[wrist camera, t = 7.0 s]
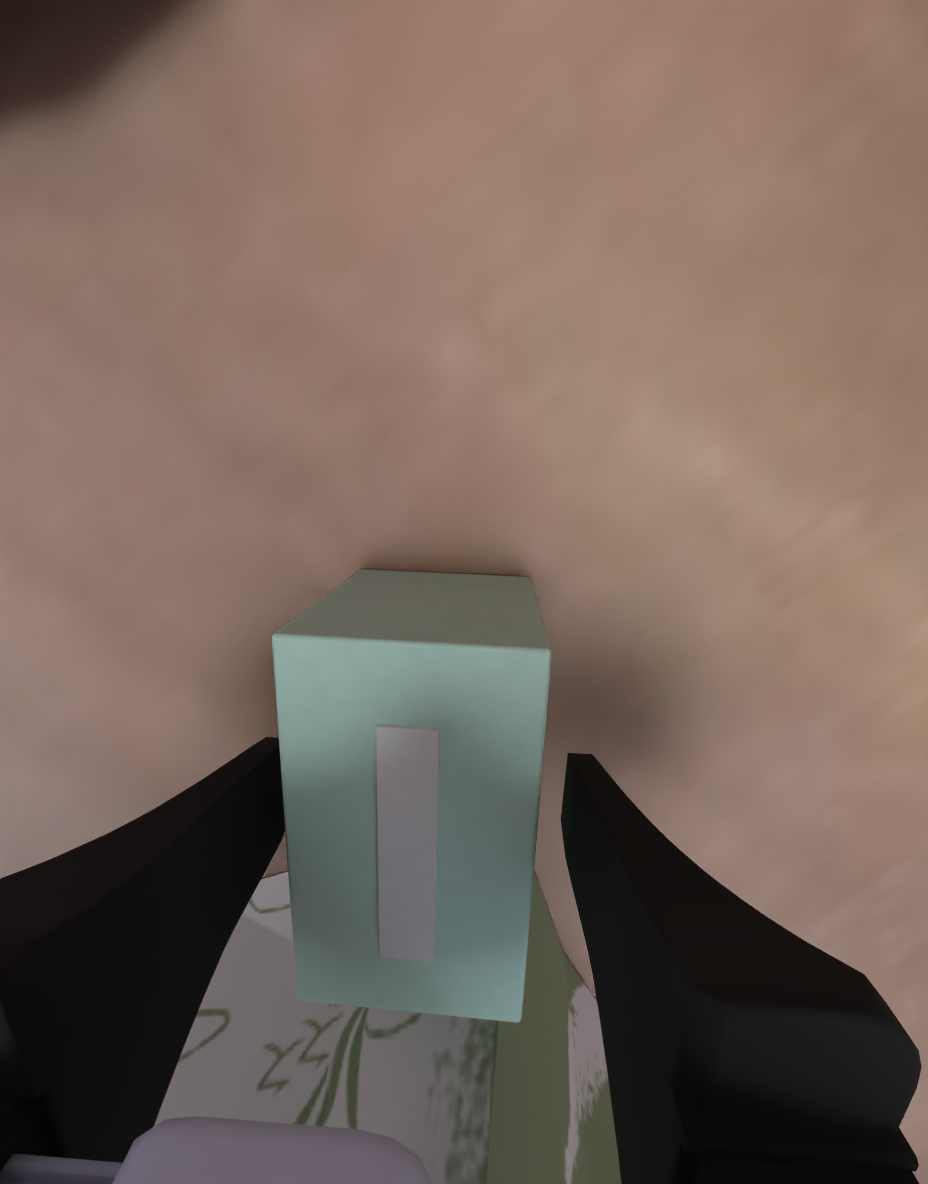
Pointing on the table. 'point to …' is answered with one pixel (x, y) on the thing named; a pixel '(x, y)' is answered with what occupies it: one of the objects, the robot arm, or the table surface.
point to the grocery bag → (406, 1062)
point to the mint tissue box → (413, 789)
